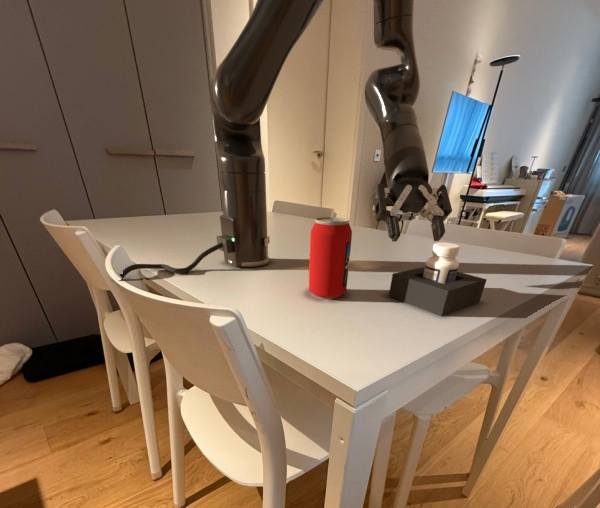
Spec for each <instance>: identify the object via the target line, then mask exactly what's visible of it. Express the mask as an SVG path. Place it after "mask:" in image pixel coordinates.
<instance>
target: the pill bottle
mask: <svg viewBox="0 0 600 508" xmlns="http://www.w3.org/2000/svg"><path fill="white" fill-rule="evenodd" d="M459 251H460V245H459V244H455V243H452V242H451V243H450V242H436V243H434V244H433V247H432V252H431V254H432V256H430V257H429V258H428V259H426V261H425V264H424V267H425V269H424V273H423V278H425V279H429V280H432V281H435V282H439V283H442V284H446V283H450V282H453V281H455V279H456V275H457V272H459V267H460V262H459V261H458V259H457V258H456V257H458V255H459Z"/></svg>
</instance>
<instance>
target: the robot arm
mask: <svg viewBox="0 0 600 508" xmlns="http://www.w3.org/2000/svg"><path fill="white" fill-rule="evenodd" d="M324 1H325V0H256V3H255V5H254V8H253V10H252V12H251V15H250V16H249V19H248V20H247V22H246V24H245V25H244V26H243V28H242V30H241V32H240V34H239V35H238V36H237V38H236V40H235V42H234V43H233V44H232V46H231V48H230V49H229V51H228V52H227V54H226V56H225V57H224V59H223V60H222V61H221V62H220V63H219V65H218V66H217V68H216V70H215V72H214V73H213V76H212V79H211V81H210V86H209V100H210V101H209V103H210V113H211V120H212V121H211V122H212V130H213V137H214V138H213V139H214V147H215V155H216V160H217V167H218V175H219V185H220V195H221V205H222V214H220V215H219V221H220V231H221V235H216V244H215V245H213V246H211V247H209V248H207V249H205V250H204V251H202V253H200V254H199V255H198V256H197V257H196V258H195V260H194V261H193V262H192V263H191V264H189V265H188V266H186V267H182V268H181V267H180V268H179V267H178V268H177V267H172V266H170V265H168V264H165V263H135V264H130V265H128V266H126V267H125V268H124V269H122V271H123V274H120V273H119V274H118V275H120V276H121V277H122V278H123V279H124V278H125V277H126V276H127V275H128V274H130V273H131V272H132V271H133V272H134V271H136V270H141V269H143V270H144V269H145V270H146V269H149V270H166V271H168V272H169V273H173V274H185V273H189V272H191V271H192V270H194V269H195V268H196V267H197V266H198V265H199V264H200V263H201V262H202V260H204V258H206V257H207V256H208V255H211V254H212V253H214V252H215V251H217V250H219V251H222V252H223V259H224V260H223V261H224V263H226V264H228V265H231V266H233V267H234V268H256V267H262V266H265V265H267V264H269V263H270V258H269V244H270V243H271V241H270V239H271V238H270V235H268V212H267V210H268V208H267V180H266V158H265V155H264V151H263V145H262V131H261V117H262V115H263V113H264V111H265V108H266V105H267V104H268V102H269V99H270V96H271V94H272V91H273V89H274V88H275V87H274V86H275V84H276V82H277V79H278V77H279V75H280V73H281V71H282V69H283V66H284V65H285V62H286V60H287V59H288V57H289V54H290V53H291V52H292V50H293V49H294V47H295V46H296V45H297V43H298V41H299V40H300V38H301V37H302V35H303V34H304V33H305V32H306V30H307V28H308V27H309V25H310V24H311V23H312V21H313V19H314V17H315V16H316V14H317V13H318V11H319V9H320V7H321V5H323V3H324ZM372 2H373V3H372V4H373V6H372V8H373V11H372V12H373V13H372V15H373V18H372V19H373V43H374V44H373V45H374V47H375V49H377V50H381V51H390V52H393V53H395V54H396V55H397V57H398V60H399V63H398V64H393V65H389V66H384V67H378V68H376V69H374V70H372V72H370V74H369V75H368V77H367V79H366V81H365V84H364V92H363V94H364V102H365V106H366V109H367V112H368V114H369V116H370V118H371V119H372V121H373V123H374V124H375V127H376V128H377V130H378V132H379V135H380V140H381V146H382V161H383V167H384V173H385V178H386V185H387V187H385V184H384V183H381V182H379V183H378V184H377V187H376V189H375V191H374V193H373V195H372V196H373V206H374V218H375V221H377V222H384V223H385V225H386V228H387V235H388V238H389V239H390V240H391V242H392V243H393V242H397V241H398V240H399V238H400V237H401V229H400V222H399V216H397V214H398V212H399V211H400V212H402V214H409V213H413V214H419V215H420V216H421V217H422V218H424V219H427V220H428V221H429V222H430V223H431V224H430V225H431V227H430V228H431V233H432V238H433V241H434V242H439V241H440V240H441V239H442V238H443V237H444V235H445V234H446V228H445V227H446V226H445V223H444V222H445V221H446V220H447V218H448V217H449V215H451V214H452V212H453V208H452V204H451V200H450V197H449V192H448V188H447V186H446V185H445V184H441V185H440V186H439V187H438V188H432V186H431V185H430V183H429V177H430V173H429V168H428V162H427V157H426V151H425V146H424V141H423V138H422V135H421V132H420V126H419V121H418V116H417V113H416V110H415V108H414V105H415V104H416V102H417V100H418V97H419V95H420V90H421V78H420V77H421V76H420V70H419V64H418V58H417V54H416V46H415V35H414V11H415V0H373V1H372ZM387 197H388V198H387ZM386 199H389V200H390V201H391V203H392V204H393V206H392V208H391V209H390V210H388V209H387V200H386ZM427 204H428V205H427ZM426 205H427V208H425V206H426Z"/></svg>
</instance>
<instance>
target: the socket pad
mask: <svg viewBox="0 0 600 508" xmlns="http://www.w3.org/2000/svg"><path fill="white" fill-rule="evenodd" d="M424 269H425V266H420V267H416V268H412V269H408V270H403V271H398V272H394V273H392V276H391V282H390V287H389V293H388V297H389V298H392V299H393V300H394V299H395V300H397V301H400V302H402V303H405V304H408V305H411V306H413V307H416V308H419V309H422V310H424V311H427V312H429V313H432V314H436V315H438V316H441V317H442V316H445V315H448V314H450V313H453V312H456V311H459V310H463V309H465V308H468V307H470V306H473V305H476V304H479V303H480V301H481V298H482V295H483V292H484V289H485V286H486V283H487V280H488V279H486V278H482V277H479V276H476V275H472V274H468V273H464V272H460V271H457V275H456V279H455V281H453V282H450V283H446V284H442V283H439V282H435V281H432V280H429V279H425V278H423V273H424Z"/></svg>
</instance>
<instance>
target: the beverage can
mask: <svg viewBox="0 0 600 508" xmlns="http://www.w3.org/2000/svg"><path fill="white" fill-rule="evenodd" d="M352 239H353V230H352V227H351V225H350V220H349V219H348V218H345V217H337V216H323V217H317V218H315V222H314V223H313V225H312V227H311V229H310V240H309V241H310V242H309V243H310V244H309V267H308V268H309V269H308V291H309V292H310V293H311V294H312V295H314V296H315V297H317V298H320V299H325V300H331V299H337V298H340V297H341V296H342V295H345V294H346V292H347V288H348V287H347V286H348V279H349V269H350V258H351V249H352V247H351V246H352Z"/></svg>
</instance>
